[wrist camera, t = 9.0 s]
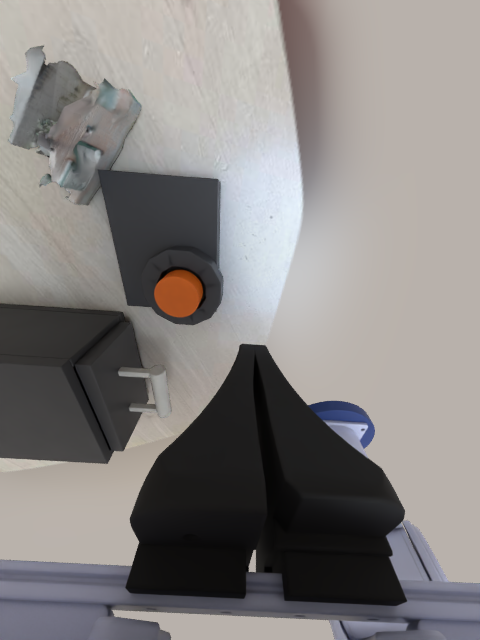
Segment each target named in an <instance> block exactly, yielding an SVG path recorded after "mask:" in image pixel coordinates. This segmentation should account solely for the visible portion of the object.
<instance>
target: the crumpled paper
mask: <svg viewBox="0 0 480 640" xmlns="http://www.w3.org/2000/svg"><path fill="white" fill-rule="evenodd" d="M43 47H44V46H39V47H33V48H30V49H29V50H28V51H27V52H26V53H25V55H26V60H27V71H26V72H24V73H22V74H19V75H17V76H15V77H13V78H11V79H12V80H13V81H14V82H16V83H17V84H18V85H19V86H18V89H17V92H16V97H15V104H14V111H13V114H12V115H11V116H10V119H11V120H12V121H13V125H14V128H13V130H12V132H11V134H10V139H8V141H9V142H10V143H11V144H13V145H15V146H16V145H17V146H19V147H23V148H26V149H30V148H34V147H37V146H39V147H38V149H37V150H36V152H37V153H39V154H42V155H45V156H48V157H49V160H50V164H49V167H50V169H51V176H50V174H46V175H45V176H43V177H42V179H41V180H40V186H41V185H44V186H46V185H47V184H49V183H50V182H56V183H57V184H59V185H60V187H64V188H65V190H66V191H69V192H71V194H70V196H69V197H67V196H66V197H65V198H66V199H68V200H69V201H71V202H72V203H73V204H78V205H81V204H82V205H88V204H89V201H90V200H91V199H92V197H93V196H94V194H95V193H96V191H97V190H98V188H99V187H100V185H101V183H100V178H99V174H98V170H110V168H111V167H112V164H113V163H114V162H115V160H116V159H117V157H118V156H119V153H120V151H121V149H122V148H123V143H124V140H125V137H126V136H127V134H128V132H129V130H131V129H132V127H133V124H134V123H135V120H136V118H137V116H138V115H139V113H140V111H141V107H142V106H141V104H140V103H139V102H138V101H137V100H136V99H135V97H134V96H133V94H132V93H131V92H130V90H129V92H128V91H127V90H125V89H119V90H117V89H116V88H114V87H113V86H112V85H111V84H110V83H109V82H108V81H107V80H106V79H105V78H104V82H102V83H101V84H98V83H96V82H94V83H95V85H96V86H97V88H94V87H92V86H90V85H88V84H87V83H85V82H83V81H82V79H81V77H80V76H79V74H78V72H77V71H76V69H75V68H74V67H73V66H72V65H71V64H69V63H68V62H65V61H59V62H58V63H49V64H48V65H47V66H46V65H45V64H44V63H45V62H44V59H45V60H46V58H45V54H44V52H43V51H42V49H43ZM40 186H39V187H40Z"/></svg>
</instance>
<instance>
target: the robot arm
mask: <svg viewBox="0 0 480 640" xmlns="http://www.w3.org/2000/svg"><path fill="white" fill-rule="evenodd" d="M367 428H368V425H367V423H363V422H347V421H331V420H322V419H321V418H320V417H319V416H318V415H317V414H315V413H314V412H313V410H312V409H311V408H310V407H309V406H308V405H307V404H306V403H305V402H304V401H303V400H302V399H301V397H300V396H299V395H298V394H297V393H296V391H295V390H294V389H293V388H292V386H291V385H290V384H289V382H288V381H287V380H286V378H285V377H284V375H283V374H282V372H281V371H280V369H279V368H278V366H277V365H276V363H275V362H274V360H273V358H272V356H271V355H270V353H269V351H268V349H267V347H266V346H265V345H251V344H241V345H240V346H239V352H238V355H237V357H236V360H235V362H234V364H233V366H232V368H231V370H230V372H229V374H228V376H227V377H226V379H225V381H224V383H223V384H222V386H221V387H220V389H219V390H218V392H217V393H216V395H215V396H214V397H213V399H212V400H211V401H210V403H209V404H208V405H207V406H206V408H205V409H204V410H203V411H202V413H201V414H200V415H199V416H198V417H197V418H196V419H195V420H194V421H193V422H192V424H191V425H190V426H189V427H188V428H187V429H186V430H185V431H184V432H183V433H182V434H181V435H180V436H179V437H178V438H177V439H176V440H175V441H174V442H173V443H172V444H171V445H169V447H167V448H166V449H165V450H164V451H163V452H162V453H161V454H160V455H159V456H158V458H157V459H156V461H155V463H154V465H153V466H152V468H151V470H150V471H149V474H148V475H147V477H146V479H145V481H144V483H143V486H142V488H141V490H140V492H139V495H138V498H137V500H136V503H135V506H134V509H133V511H132V514H131V517H130V523H131V527H132V529H133V531H134V533H135V535H136V537H137V538H138V540H139V545H138V548H137V551H136V555H135V558H134V561H133V565H132V566H118V565H98V564H78V563H57V562H38V561H17V560H0V640H171V636H170V633H168V632H165V631H163V630H160V627H159V624H158V623H157V622H149V621H142V620H135V619H127V618H120V617H114V614H113V611H112V610H125V611H146V612H167V613H189V614H210V615H232V616H254V617H275V618H296V619H317V620H329V622H330V624H331V628H332V631H333V635H334V639H335V640H480V583H460V582H459V583H458V582H449V581H448V580H447V578H446V576H445V574H444V572H443V570H442V568H441V567H440V565H439V563H438V561H437V559H436V557H435V556H434V554H433V552H432V550H431V548H430V547H429V545H428V543H427V541H426V540H425V538H424V536H423V535H422V533H421V532H420V530H419V529H418V528H417V527H416V526H414V525H412V524H411V523H410V522H409V521H407V520H406V521H403V519H404V515H405V510H404V508H403V506H402V504H401V502H400V501H399V498H398V496H397V494H396V492H395V490H394V489H393V487H392V485H391V483H390V481H389V480H388V478H387V477H386V475H385V473H384V472H383V470H382V469H381V468H380V467H379V466H378V465H376V464H375V463H374V462H372V461H371V460H370V459H368V457H367V455H366V453H365V451H364V449H363V447H362V445H361V442H360V439H361V438H362V436H363V434H364V433H365V431H366V430H367ZM401 522H403V525H404V527H405V529H406V531H407V533H408V536H409V538H408V536H407V534H406V532H405V530H404V528H403V526H402V524H401ZM409 539H410V540H409ZM410 541H411V542H410ZM411 543H412V544H411ZM412 545H413V546H412ZM413 547H414V548H413ZM414 549H415V550H414ZM253 550H256V572H249V567H248V566H249V563H250V560H251V557H252V553H253ZM415 551H416V552H415Z"/></svg>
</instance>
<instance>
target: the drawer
mask: <svg viewBox="0 0 480 640" xmlns="http://www.w3.org/2000/svg"><path fill="white" fill-rule="evenodd" d="M74 365H75V366H74V367H73V369H74V371H75V373H76V376H77V378H78V380H79V382H80V385H81V387H82V389H83V391H84V394H85V396H86V398H87V400H88V403H89V405H90V407H91V409H92V412H93V414H94V416H95V418H96V421H97V423H98V425H99V427H100V430H101V432H102V434H105V437H106V439H107V441H108V443H109V446H110V448H111V450H112V451H124V449H125V447H126V445H127V443H128V441H129V439H130V437H131V435H132V433H133V431H134V428H135V426H136V424H137V422H138V420H139V418H140V416H141V414H142V412H150V413H157V414H158V416H159V417H160V418H166V417H168V416H169V415H170V414H171V411H172V410H171V403H170V396H169V389H168V382H167V376H166V369H165V367H164V366H162V365H156V366H153V367H152V368H151V369H143V368H142V367H141V363H140V358H139V354H138V349H137V345H136V340H135V336H134V331H133V327H132V323H131V322H119V323H118V324H117V325H116V326H115V327H114V328H113V329H111V330H110V331H109V332H108V333H107V334H106V335H105V336H104V337H103V338H102V339H101V340H100V341H99V342H98V343H97V344H96V345H94V346H93V347H92V348H91V349H90V350H89V351H88V352H87V353H86V354H85V355H84V356H83V357H82V358H81V359H80V360H78V361H77V362H76V363H75V364H74ZM144 378H150V379H151V384H152V389H153V394H154V399H155V404H156V405H155V404H147V402H148V400H149V399H148V394H147V390H146V385H145V381H144Z"/></svg>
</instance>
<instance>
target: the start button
mask: <svg viewBox="0 0 480 640" xmlns="http://www.w3.org/2000/svg"><path fill="white" fill-rule="evenodd" d="M202 296H203V287H202V284H201V282H200V280H199V279H198V278H197V277H196V276H195V275H194V274H193V273H191V272H189V271H186V270H173V271H171V272H169V273H168V274H167V275H166V276H165V277H163V278H162V279H161V280H160V281H159V282H158V283H157V285H156V287H155V290H154V297H155V300H156V303H157V305H158V306H159V307H160V309H161V310H162V311H164V312H165V313H167V314H168V315H171V316H174V317H186V316H189V315H191V314H192V313H194V312H195V310H196V309H197V307H198V305H199V303H200V301H201V298H202Z"/></svg>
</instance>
